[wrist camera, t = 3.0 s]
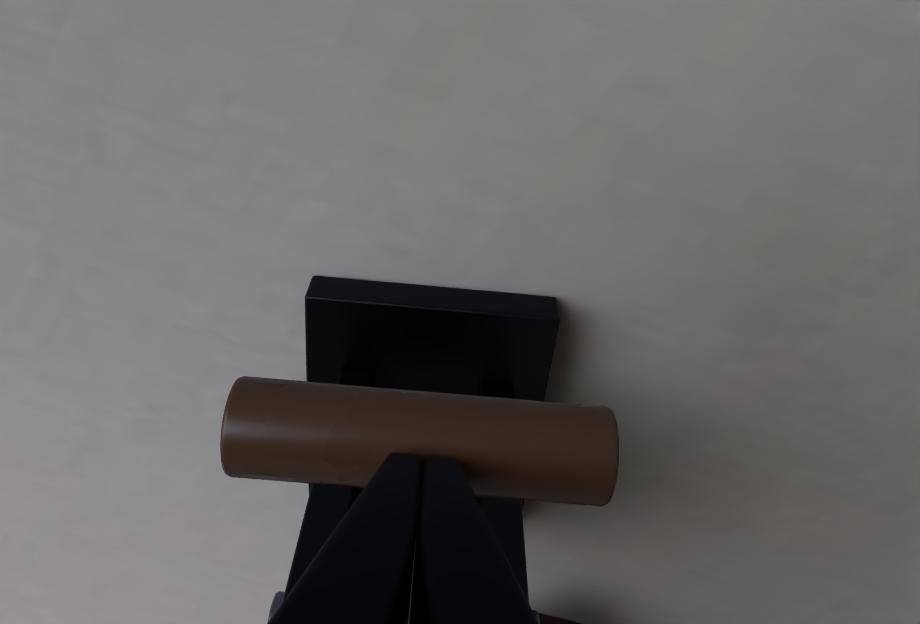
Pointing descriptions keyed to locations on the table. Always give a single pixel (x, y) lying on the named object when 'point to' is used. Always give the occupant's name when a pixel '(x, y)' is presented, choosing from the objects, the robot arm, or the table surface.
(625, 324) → the table surface
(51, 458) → the table surface
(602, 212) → the table surface
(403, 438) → the tap lever
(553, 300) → the tap bracket
